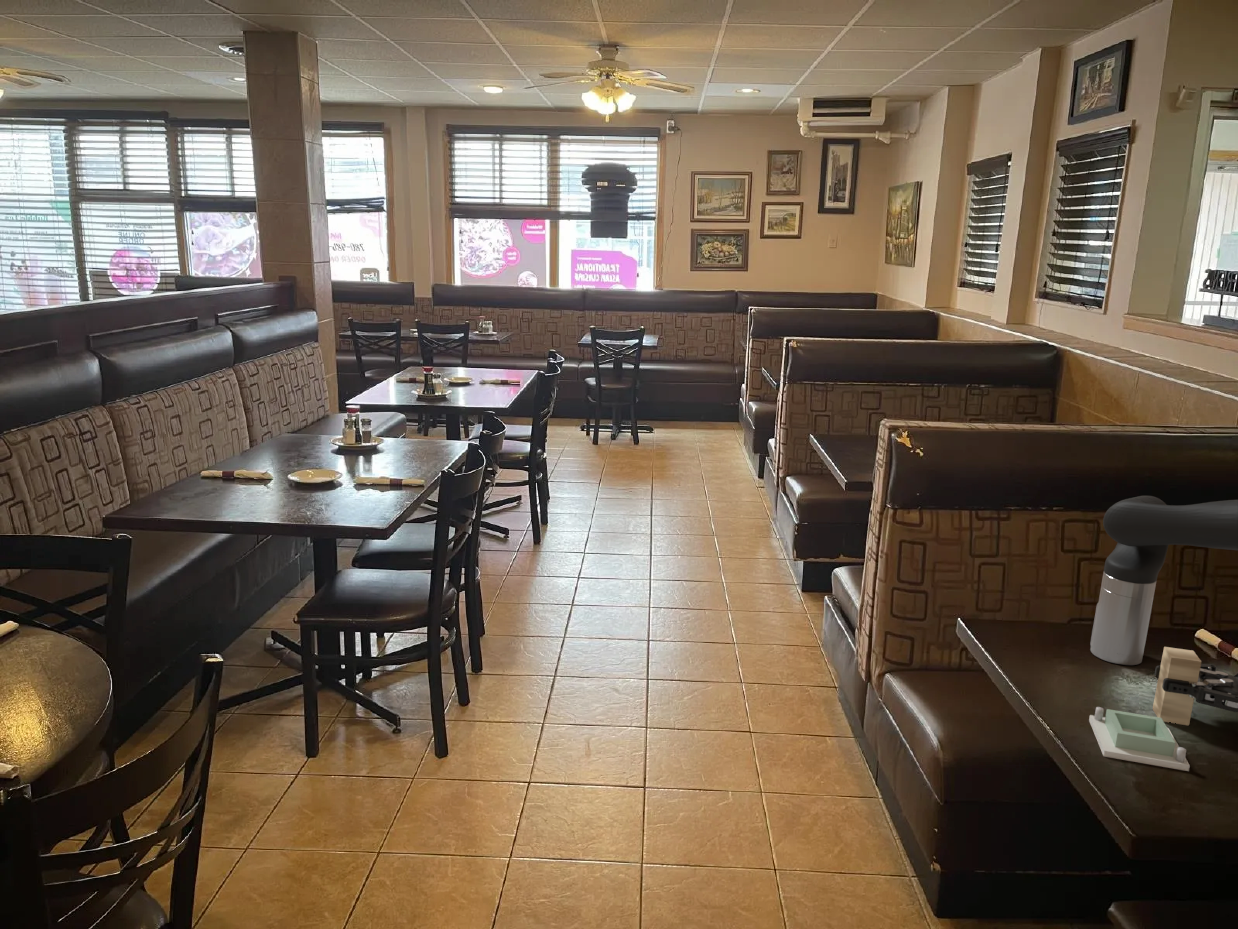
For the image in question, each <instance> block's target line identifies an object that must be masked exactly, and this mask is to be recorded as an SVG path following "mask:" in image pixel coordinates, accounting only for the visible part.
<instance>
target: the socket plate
mask: <svg viewBox="0 0 1238 929" xmlns="http://www.w3.org/2000/svg"><path fill="white" fill-rule="evenodd" d="M1104 712H1105V716H1104ZM1088 722H1089V724H1090V726H1091V728H1092V731H1093V733H1094V736H1095V738H1096V740H1097V743H1098V746H1099V748H1100V750H1101V753H1102V756H1103V757H1105V758H1111V759H1117V760H1123V761H1128V762H1133V763H1134V762H1135V763H1139V764H1145V765H1151V766H1156V767H1163V768H1169V769H1174V770H1179V771H1185V772H1190V767H1191V766H1190V764H1189V762H1188V760H1187V758H1186V756H1187V754H1186V753H1187V749H1186V748H1185V747H1182V746H1180V745H1179V744H1178V742H1177V740H1176V739H1175V737H1174V735H1173V734H1172V732H1171V730H1170V728H1169V727H1167V726H1166V724H1165V723H1166V722H1163V720H1162V718H1160V717H1157V716H1152V715H1148V714H1147V715H1146V714H1140V713H1136V712H1135V713H1134V712H1128V711H1121V710H1117V709H1116V710H1115V709H1109V708H1106V711H1105V708H1103V707H1100V706H1096V707H1095V712H1094V715H1093V714H1090V715H1089V719H1088Z"/></svg>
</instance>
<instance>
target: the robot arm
mask: <svg viewBox="0 0 1238 929" xmlns="http://www.w3.org/2000/svg"><path fill="white" fill-rule="evenodd" d="M1102 524H1103V528H1104V530H1105V533H1106V534H1107V535H1108V536H1109V537H1110V538H1111V539H1112V540H1113V541H1114V542H1117V543H1116V545H1115V547H1114V549H1113V550H1112V552H1111V553H1110V554H1109V555H1108V556H1107V557H1106V559H1105V562H1104V568H1103V574H1102V579H1101V586H1100V592H1099V597H1098V602H1097V603H1096V606H1095V607H1096V608H1095V615H1094V620H1093V626H1092V630H1091V637H1090V644H1089V645H1090V652H1091V653H1092V655H1094V656H1095V657H1097V658H1098V659H1101V660H1103V661H1106V662H1108V663H1112V664H1116V665H1123V666H1135V665H1139V664H1141V663H1142V662H1143V656H1144V651H1145V646H1146V641H1147V635H1148V630H1149V624H1150V619H1151V614H1152V608H1153V601H1154V596H1155V590H1156V586H1157V585H1156V584H1157V580H1158V575H1159V572H1160V571H1161V570H1162V567H1163V566H1164V564H1165V561H1166V557H1167V552H1168V549H1169V546H1170V545H1172V546H1173V545H1180V546H1193V547H1201V548H1209V549H1218V550H1228V551H1238V499H1228V500H1218V501H1216V500H1215V501H1208V502H1202V503H1194V504H1186V505H1185V504H1184V505H1173V504H1171V505H1169V504H1167V503H1166V502H1164V501H1163V500H1161V499H1160V498H1159V497H1156V496H1153V495H1139V496H1135V497H1129V498H1125V499H1122V500H1120V501H1118V502H1115V503H1114V504H1112V505H1111V506H1110V507H1109V508H1107V510H1106V512H1105V513H1104V514H1103V518H1102ZM1160 666H1161V664H1160V665H1156V666H1155V671H1154V676H1155V678H1157V679H1158V677H1159V672H1160ZM1201 680H1202V681H1201ZM1162 688H1163V690H1164V691H1166V692H1173V693H1180V694H1186V695H1187V694H1188V696H1189V697H1191V698H1194V699H1195V702H1196V703H1198V704H1201V705H1206V706H1209V707H1213V708H1217V709H1221V710H1225V711H1230V712H1234V713H1238V673H1236V674H1235V675H1232V674H1228V673H1227V672H1223V671H1219V670H1217V665H1215V664H1213V663H1201V667H1200V672H1199V677H1198V682H1191V684H1190V683H1189V681H1183V680H1177V679H1170V678H1165V679H1164V680H1163V685H1162Z"/></svg>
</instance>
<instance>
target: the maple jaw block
mask: <svg viewBox="0 0 1238 929" xmlns="http://www.w3.org/2000/svg"><path fill="white" fill-rule="evenodd" d="M1201 664H1202V660H1201V659H1200V658H1199V656H1198V655H1197V654H1196V652H1195V651H1194V650H1192V649H1191V650H1190V649H1183V648H1175V647H1169V646H1164V647H1163V652H1162V656H1161V662H1160V672H1159V677H1158V678H1157V682H1156V688H1155V694H1154V700H1153V704H1152V710H1153V712H1154V714H1155V717H1160V718H1162V720H1163V722H1164V723H1169V722H1171V724H1175V723H1176V724H1177V725H1181V726H1182V725H1183V726H1189V725H1190V721H1191V716H1192V711H1193V707H1194V702H1195V698H1191V697H1189V696H1188V694H1187V695H1186V694H1180V693H1173V692H1166V691H1164V690H1163V688H1162V685H1163V680H1164V679H1165V678H1170V679H1177V680H1183V681H1189V683H1190V684H1191V682H1198V677H1199V672H1200V667H1201ZM1176 724H1175V725H1176Z"/></svg>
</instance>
